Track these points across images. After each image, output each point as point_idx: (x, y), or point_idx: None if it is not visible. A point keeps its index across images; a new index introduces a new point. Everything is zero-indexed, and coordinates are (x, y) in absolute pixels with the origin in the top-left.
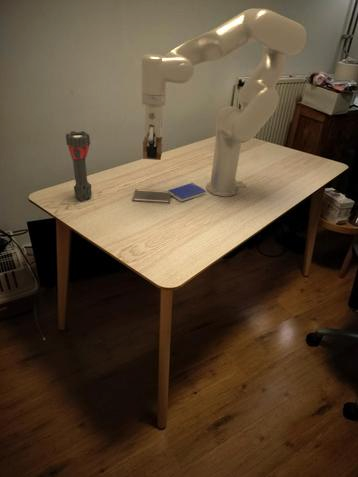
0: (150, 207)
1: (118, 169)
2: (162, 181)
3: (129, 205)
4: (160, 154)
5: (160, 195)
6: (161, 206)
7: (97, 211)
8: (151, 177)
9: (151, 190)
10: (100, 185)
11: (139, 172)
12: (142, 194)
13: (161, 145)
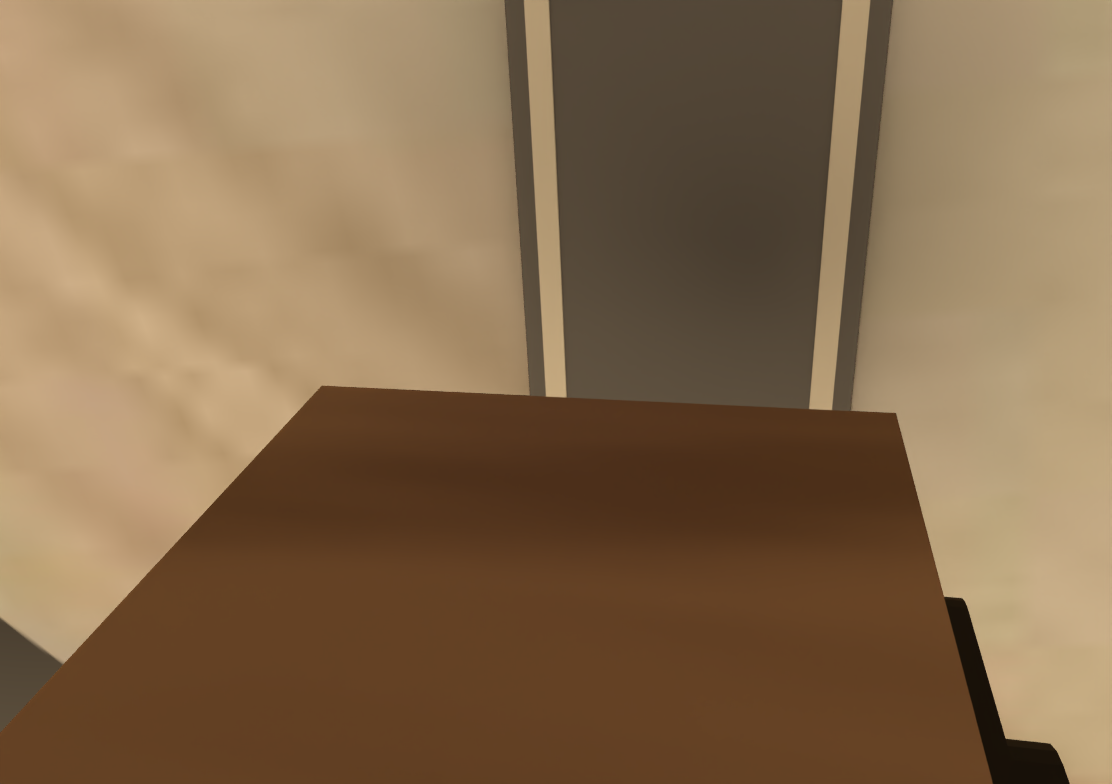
0: (1021, 222)
1: (79, 642)
2: (182, 117)
3: (958, 483)
4: (919, 529)
5: (661, 109)
6: (992, 59)
7: (1099, 766)
8: (122, 280)
9: (524, 253)
10: None
11: (50, 433)
12: (666, 360)
13: (464, 657)
